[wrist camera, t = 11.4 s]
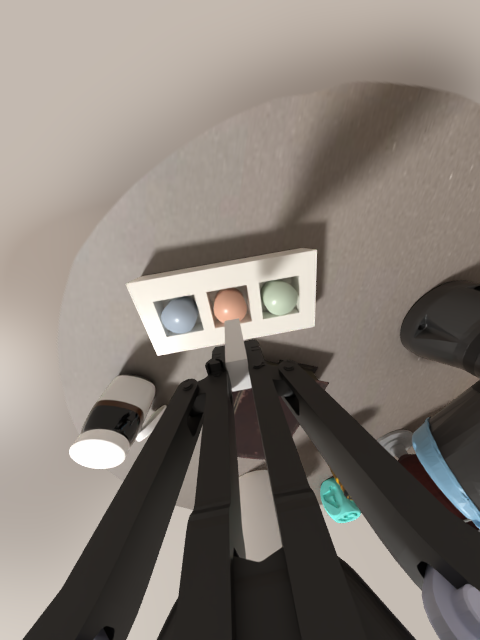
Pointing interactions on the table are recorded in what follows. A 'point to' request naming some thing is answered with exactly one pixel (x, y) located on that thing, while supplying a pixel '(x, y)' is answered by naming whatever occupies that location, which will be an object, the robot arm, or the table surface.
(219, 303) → the terracotta button
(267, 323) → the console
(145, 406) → the spread jar
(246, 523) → the cylinder
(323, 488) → the decorative dice
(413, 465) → the mate gourd
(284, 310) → the sage button
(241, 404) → the diary
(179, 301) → the slate button
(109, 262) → the table surface
